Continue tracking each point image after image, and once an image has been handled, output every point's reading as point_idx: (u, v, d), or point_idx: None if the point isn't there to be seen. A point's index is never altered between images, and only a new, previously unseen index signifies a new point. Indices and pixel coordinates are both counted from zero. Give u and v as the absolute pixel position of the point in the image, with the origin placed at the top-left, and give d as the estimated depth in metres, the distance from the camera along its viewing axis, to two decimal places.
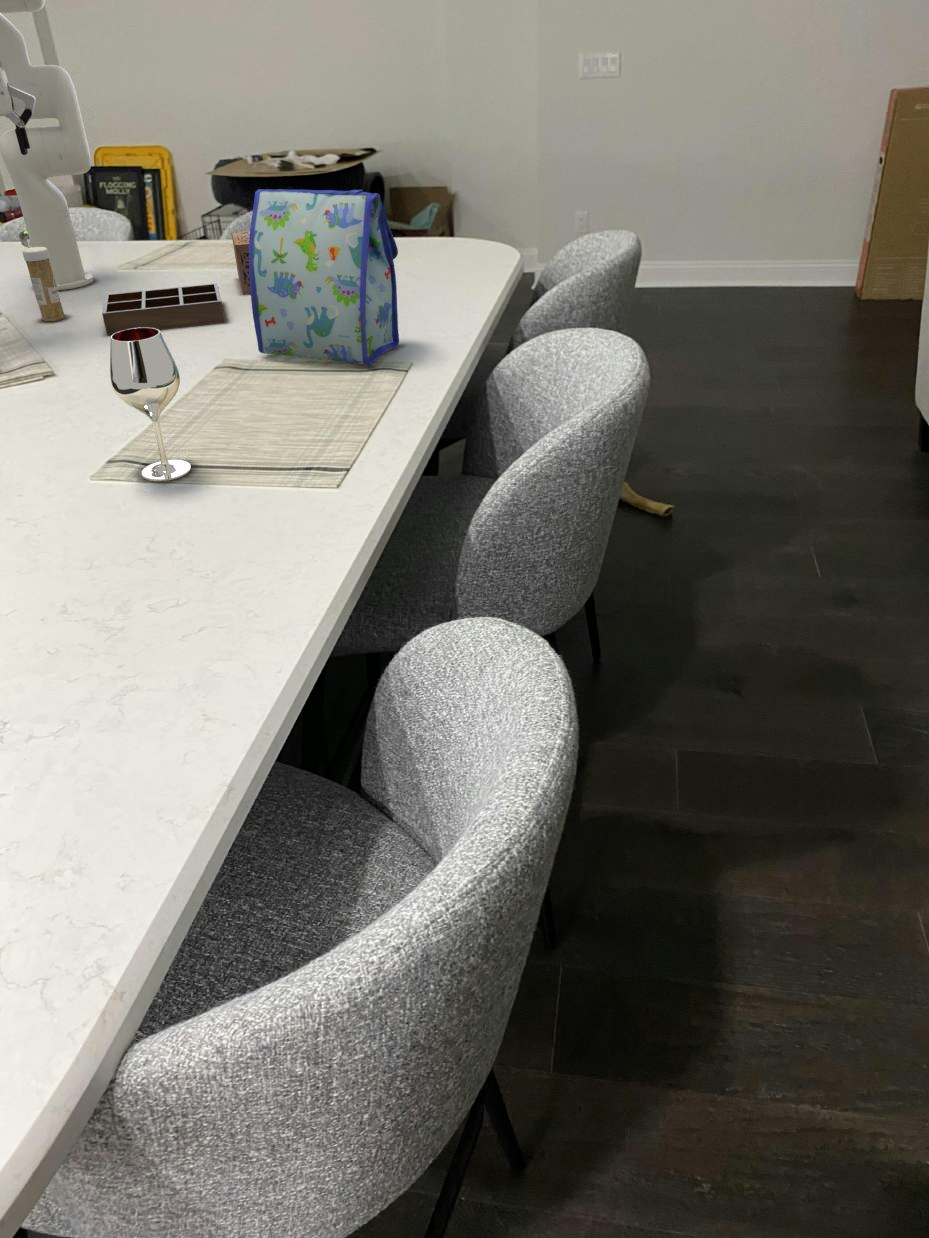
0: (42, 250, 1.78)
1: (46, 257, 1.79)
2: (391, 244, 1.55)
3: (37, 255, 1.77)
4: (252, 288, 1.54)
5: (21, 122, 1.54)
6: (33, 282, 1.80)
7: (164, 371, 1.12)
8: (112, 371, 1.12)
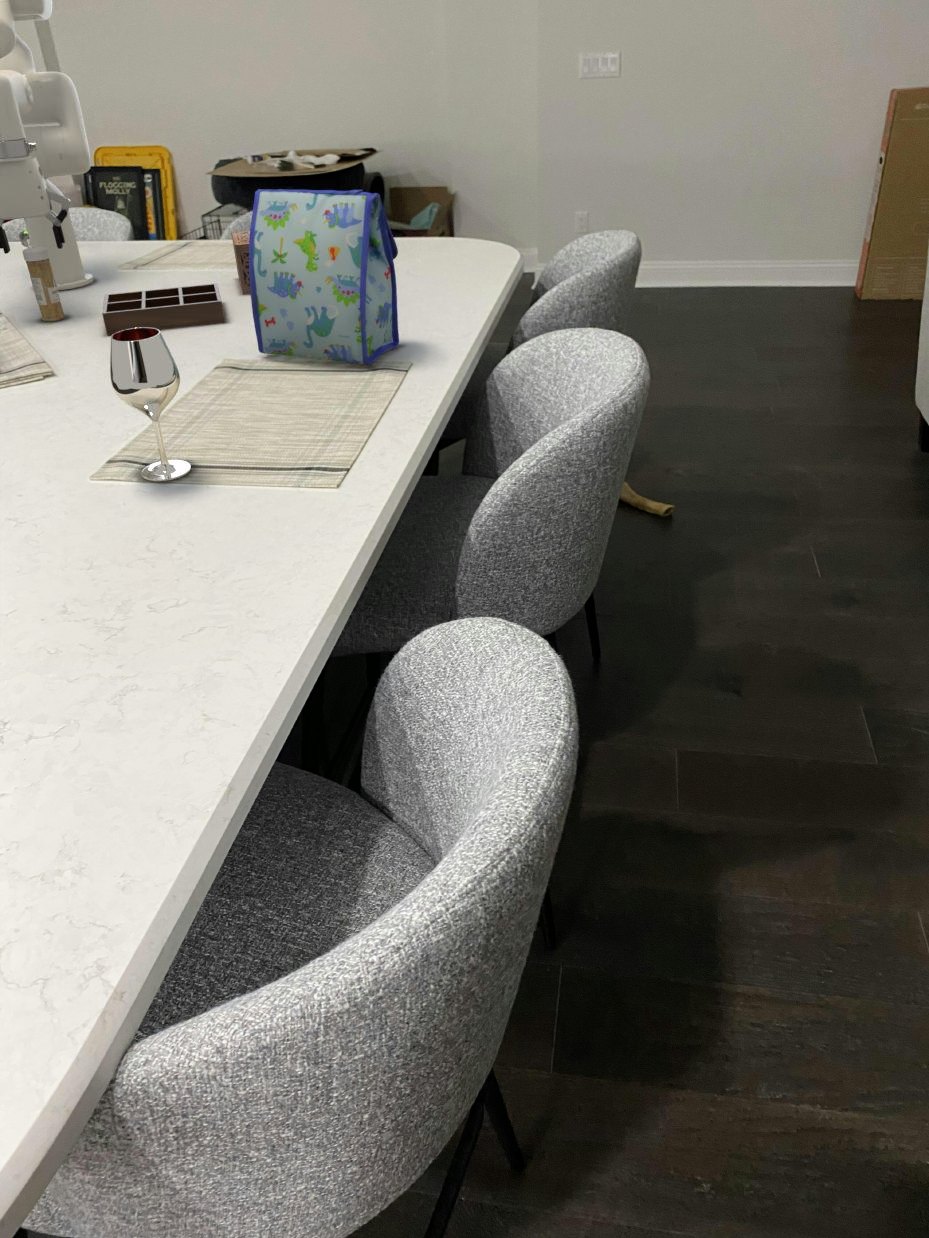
0: (42, 250, 1.78)
1: (46, 257, 1.79)
2: (391, 244, 1.55)
3: (37, 255, 1.77)
4: (252, 288, 1.54)
5: (58, 221, 1.76)
6: (33, 282, 1.80)
7: (164, 371, 1.12)
8: (112, 371, 1.12)
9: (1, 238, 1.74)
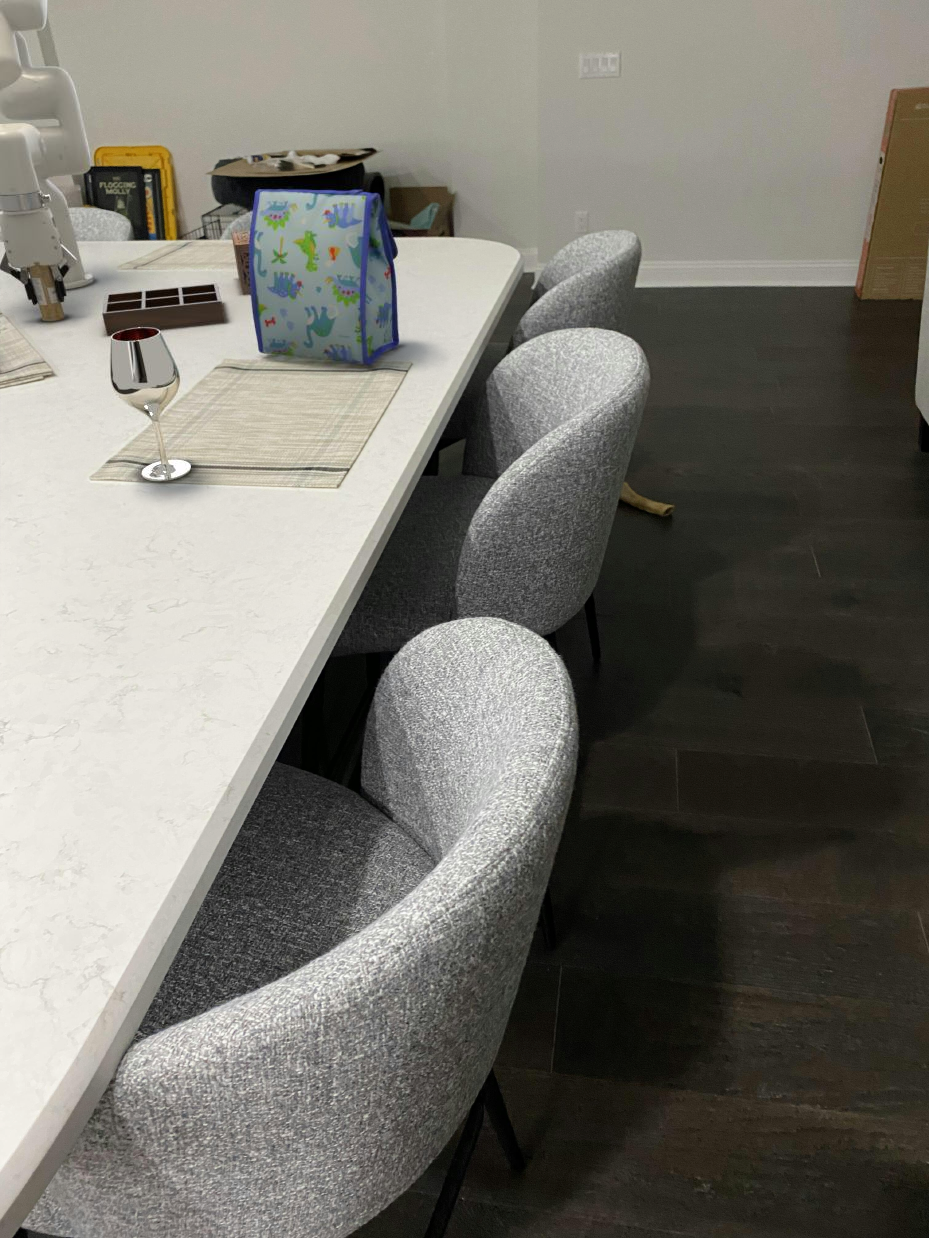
0: None
1: None
2: (391, 244, 1.55)
3: None
4: (252, 288, 1.54)
5: (60, 277, 1.81)
6: (33, 282, 1.80)
7: (164, 371, 1.12)
8: (112, 371, 1.12)
9: (30, 290, 1.81)
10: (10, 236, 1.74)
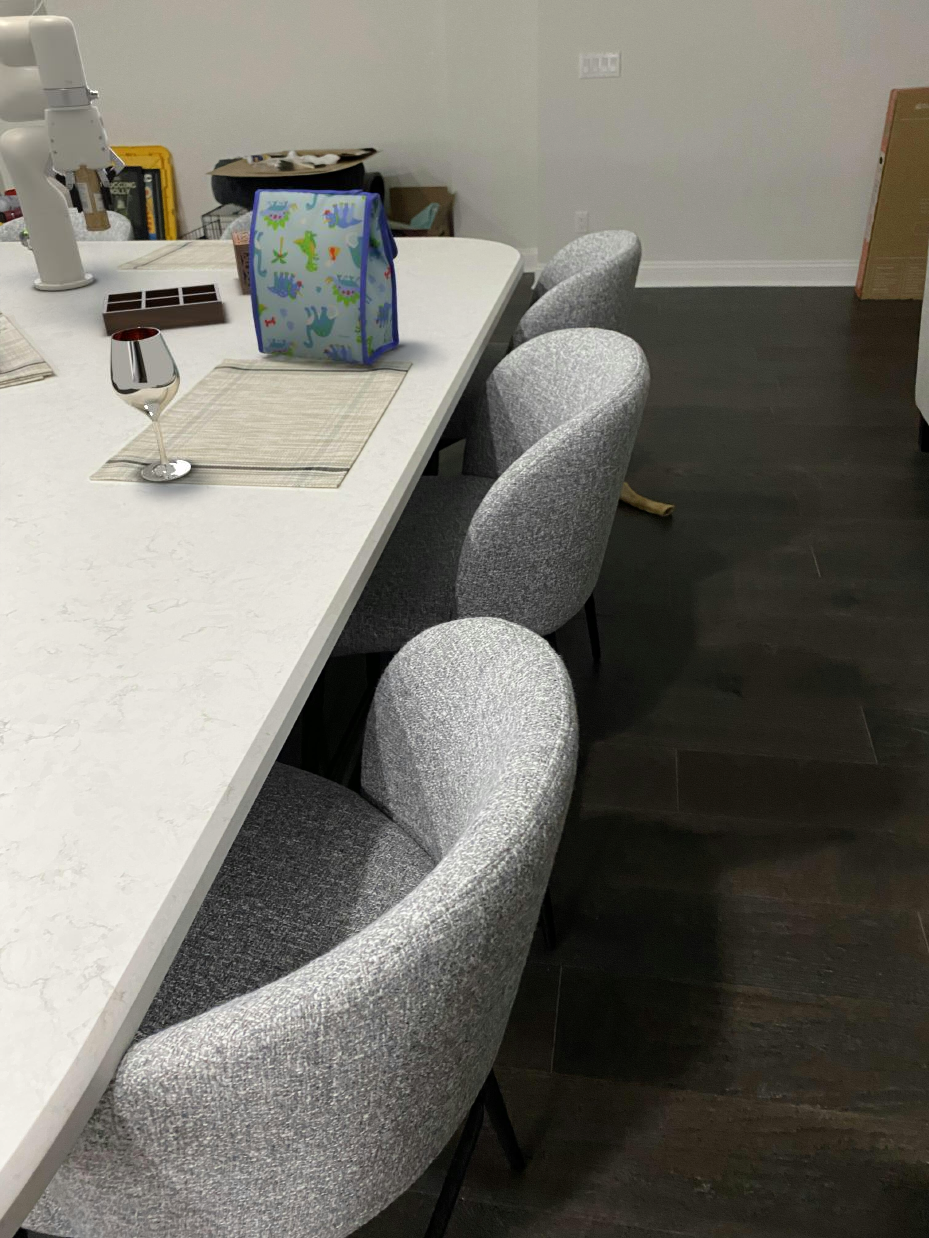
0: None
1: None
2: (391, 244, 1.55)
3: None
4: (252, 288, 1.54)
5: (107, 182, 1.71)
6: (78, 187, 1.70)
7: (164, 371, 1.12)
8: (112, 371, 1.12)
9: (75, 197, 1.70)
10: (55, 134, 1.64)
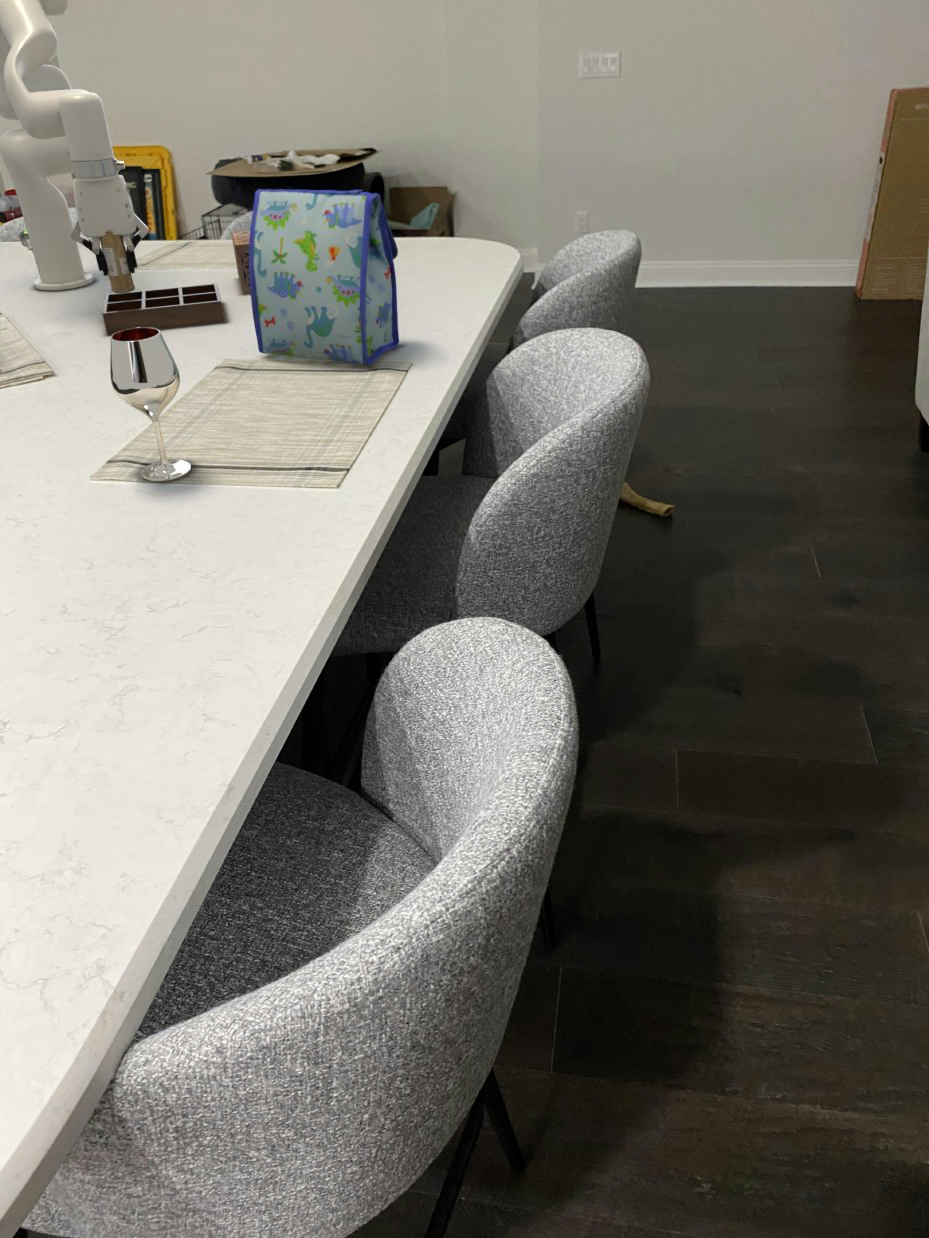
0: None
1: None
2: (391, 244, 1.55)
3: None
4: (252, 288, 1.54)
5: (132, 247, 1.77)
6: (105, 252, 1.76)
7: (164, 371, 1.12)
8: (112, 371, 1.12)
9: (101, 261, 1.76)
10: (83, 203, 1.70)
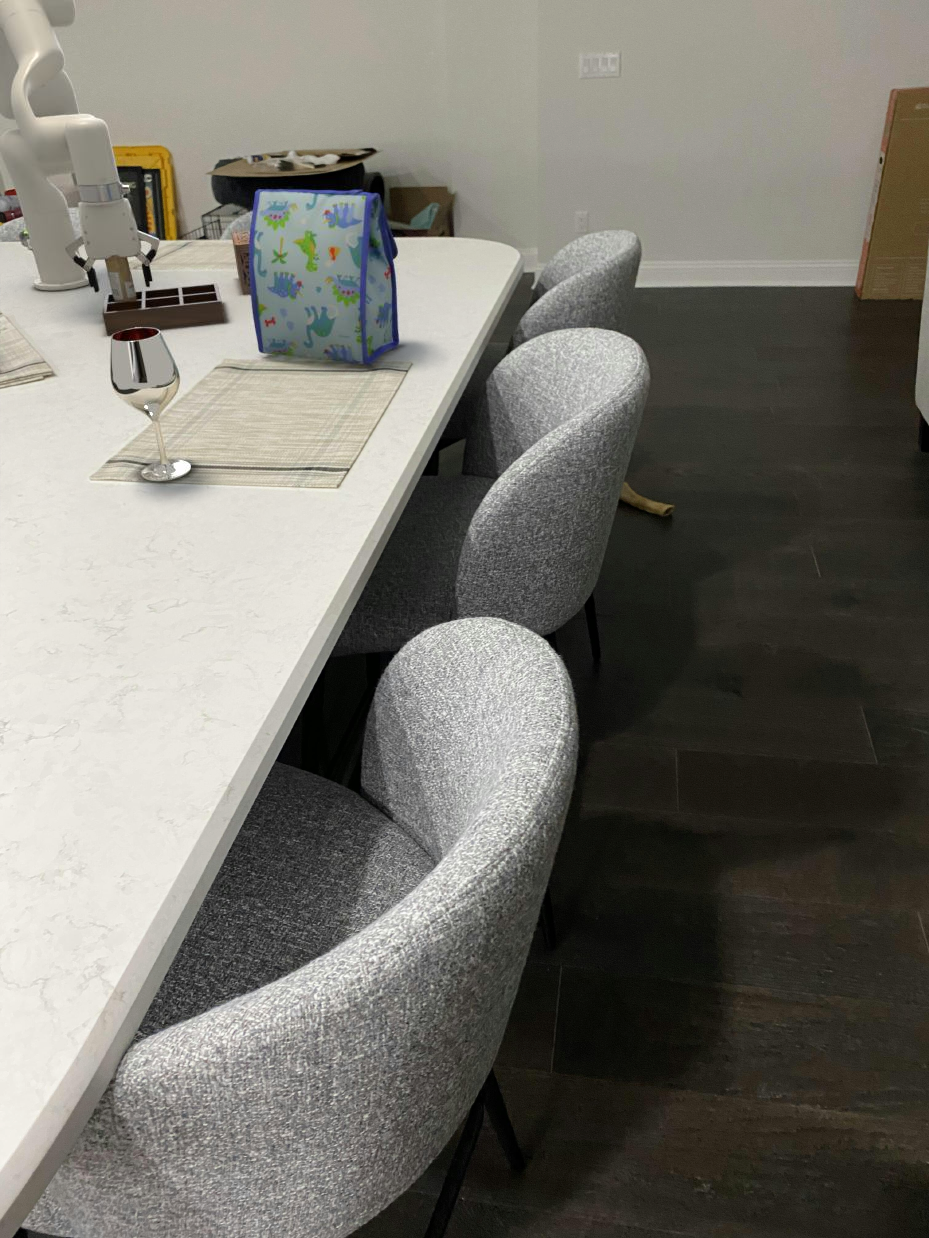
0: None
1: None
2: (391, 244, 1.55)
3: None
4: (252, 288, 1.54)
5: (147, 261, 1.79)
6: (110, 276, 1.79)
7: (164, 371, 1.12)
8: (112, 371, 1.12)
9: (92, 278, 1.78)
10: (89, 227, 1.72)
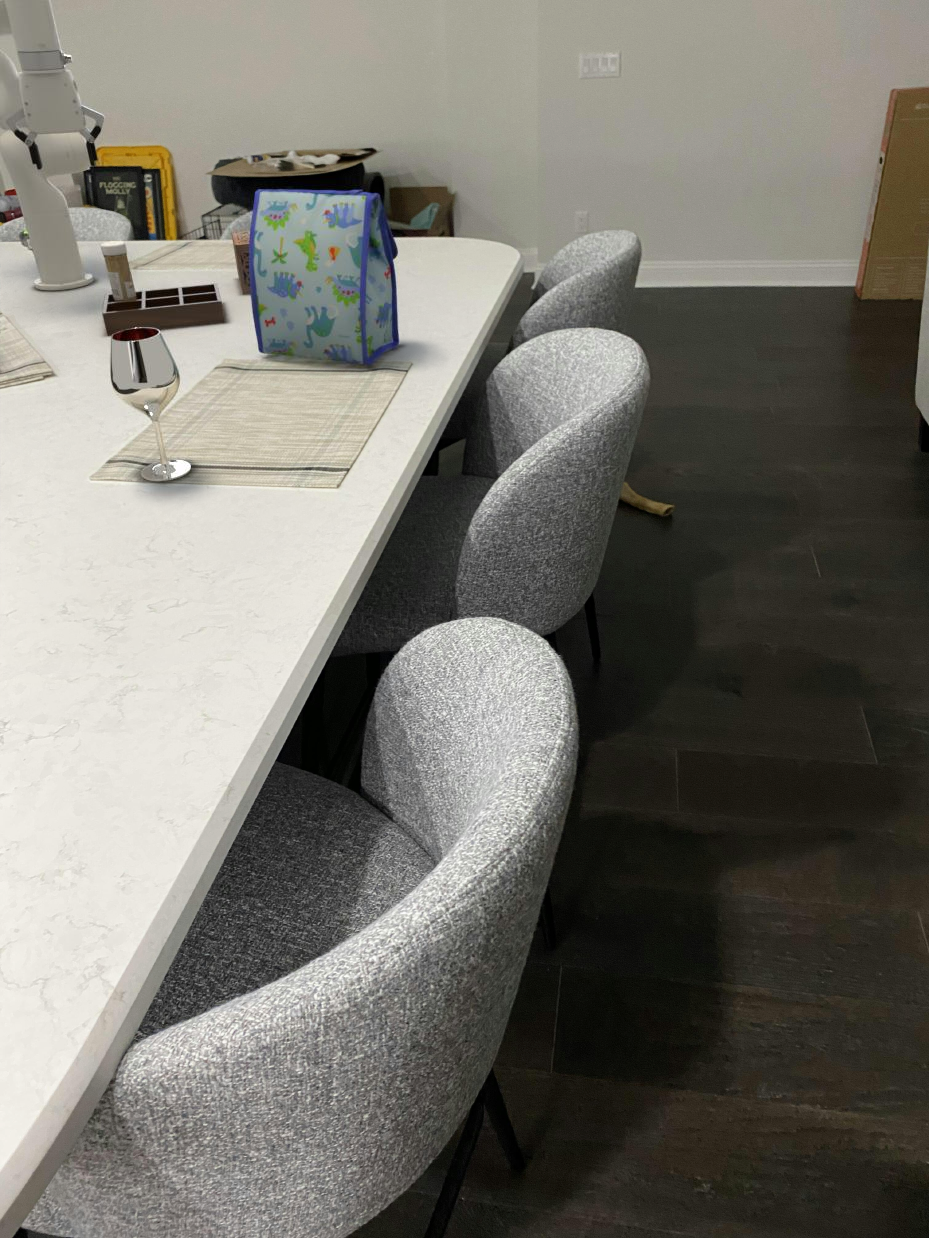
0: (120, 244, 1.76)
1: (124, 251, 1.77)
2: (391, 244, 1.55)
3: (116, 249, 1.76)
4: (252, 288, 1.54)
5: (92, 138, 1.74)
6: (110, 276, 1.79)
7: (164, 371, 1.12)
8: (112, 371, 1.12)
9: (34, 153, 1.73)
10: (29, 97, 1.67)
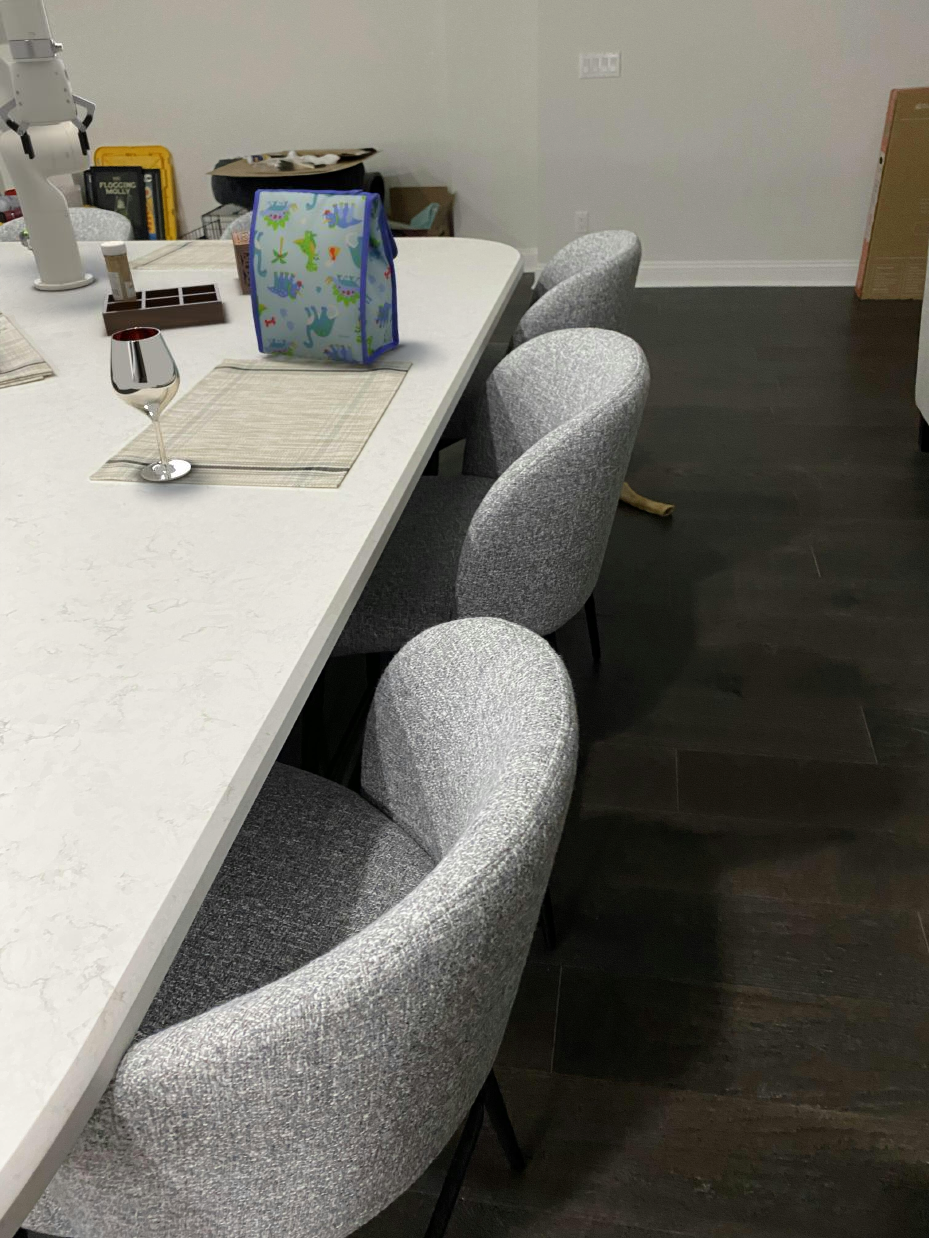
0: (121, 244, 1.76)
1: (124, 251, 1.77)
2: (391, 244, 1.55)
3: (116, 249, 1.76)
4: (252, 288, 1.54)
5: (83, 126, 1.74)
6: (110, 276, 1.79)
7: (164, 371, 1.12)
8: (112, 371, 1.12)
9: (26, 143, 1.73)
10: (20, 86, 1.68)
